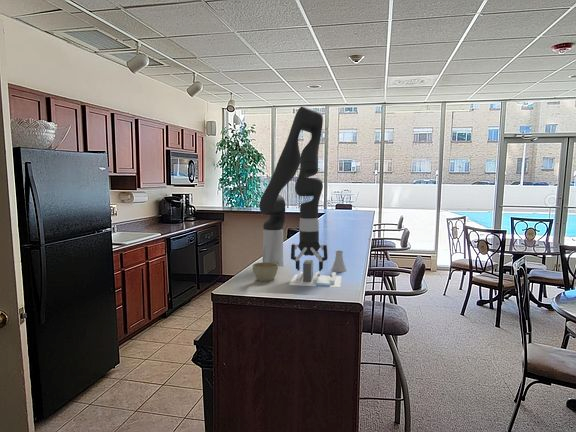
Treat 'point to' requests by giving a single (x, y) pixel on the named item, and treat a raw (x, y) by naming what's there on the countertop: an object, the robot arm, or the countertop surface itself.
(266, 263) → the flower pot
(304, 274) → the grey rectangular block
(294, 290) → the countertop surface
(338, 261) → the flask
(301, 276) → the board
